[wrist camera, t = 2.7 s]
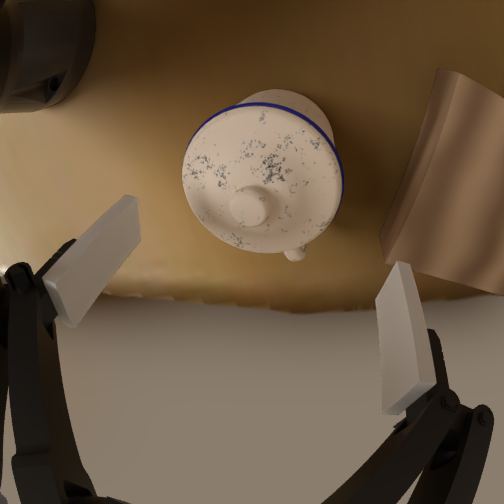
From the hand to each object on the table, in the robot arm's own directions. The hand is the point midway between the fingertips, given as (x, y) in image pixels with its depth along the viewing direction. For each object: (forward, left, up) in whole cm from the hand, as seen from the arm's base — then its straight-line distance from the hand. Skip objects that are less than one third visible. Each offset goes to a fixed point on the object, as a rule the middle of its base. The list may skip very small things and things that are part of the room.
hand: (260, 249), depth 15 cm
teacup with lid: (0, 0, -12) cm, 12 cm away
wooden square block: (+18, +3, -12) cm, 22 cm away
